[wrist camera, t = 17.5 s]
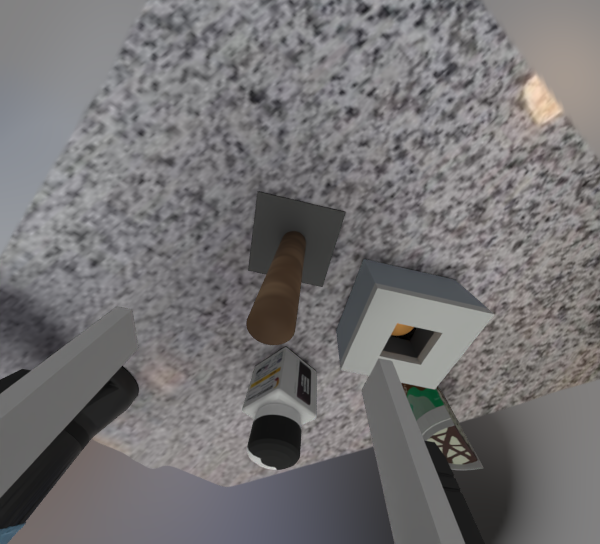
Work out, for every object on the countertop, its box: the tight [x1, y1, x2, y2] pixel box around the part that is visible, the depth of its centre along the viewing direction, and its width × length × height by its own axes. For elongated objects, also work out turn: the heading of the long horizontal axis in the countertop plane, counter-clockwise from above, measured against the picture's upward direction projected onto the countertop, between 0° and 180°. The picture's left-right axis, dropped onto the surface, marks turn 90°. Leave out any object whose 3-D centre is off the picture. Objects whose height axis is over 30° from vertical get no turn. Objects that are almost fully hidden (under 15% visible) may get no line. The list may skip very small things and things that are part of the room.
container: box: [242, 347, 317, 470], centre depth 32 cm, size 8×8×13 cm
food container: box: [402, 383, 483, 470], centre depth 33 cm, size 12×6×10 cm, turn 35°
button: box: [391, 323, 414, 336], centre depth 29 cm, size 4×4×3 cm
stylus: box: [247, 231, 306, 345], centre depth 20 cm, size 3×3×15 cm
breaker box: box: [336, 259, 494, 390], centre depth 27 cm, size 12×12×7 cm
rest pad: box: [248, 191, 345, 287], centre depth 27 cm, size 10×10×1 cm
